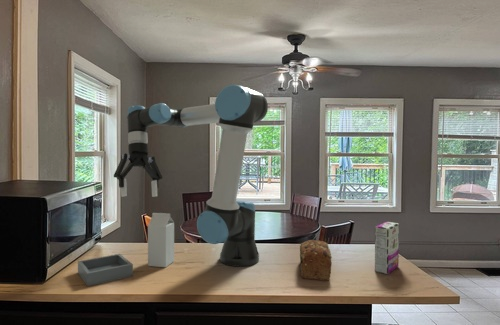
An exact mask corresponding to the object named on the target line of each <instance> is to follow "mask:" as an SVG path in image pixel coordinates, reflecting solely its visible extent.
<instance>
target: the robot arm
mask: <svg viewBox="0 0 500 325" xmlns="http://www.w3.org/2000/svg"><path fill="white" fill-rule="evenodd" d="M214 101H215V102H214V103H212V104H205V105H197V106H188V107H184V108H183V107H181V108H171V107H169V106H168V105H167V104H166V103H163V102H159V103H155V104H153V105H151V106H147V107H145V106H143V105H138V104H137V105H131V106H129V107H128V108H127V116H126V119H127V139H128V140H127V142H128V153H127V152H126V153H123V154H121V156H120V161H119V163H118V165H117V167H116V170H115V171H114V174H113V178H116V179H117V180H118V187H119V188H120V198H123V197H127V196H128V188H127V178H126V176H127V175H128V174H129V173H130V171H131V170H132V169H133V167H134V168H137V167H138V168H142V169H144V170H145V171H146V173H147V174H148V176H149V177H150V178H151V179H152V180H151V197H153V198H154V197H155V198H156V197H159V196H158V189H159V181H160V180H162V179H163V176H162V173H161V171H160V169H159V167H158V165H157V162H156V159H155V158H156V157H155V156H150V157H149V145H148V143H149V136H148V128H152V127H154V126H165V127H175V128H187V127H189V126H197V125H209V124H218V126H220V127H221V136H220V142H219V148H218V149H219V150H218V155H217V160H216V161H217V162H216V167H215V173H214V182H213V185H212V186H213V187H212V194H211V197H210V198H209V199H207V200H206V202H205V209H204V211H203V212H201V214H199V215H198V217H197V220H196V227H197V232H198V234H199V235H200V237H201V238H202V239H203V241H205V243H208V244H211V245H218V244H222V243H223V245H222V248H221V251H220V254H219V261H220V262H221V263H222V264H224V265H226V266H233V267H247V266H252V265H255V264H257V263H258V262H259V260H260V253H259V251H258V247H257V244H256V238H255V237H256V236H255V235H256V234H255V233H256V231H255V230H256V208H255V207H256V206H255V203H253V202H252V201H246V200H245V201H244V200H237V198H238V197H237V196H238V193H239V184H240V179H241V173H242V167H243V162H244V155H245V149H246V143H247V137H248V134H249V133H250V132H251V131H253V128H254V124H256V123H259V122H261V121H262V120H263V119H264V118H265V117H266V115H267V114H268V109H269V105H268V101H267V98H266V97H265V95H263V93H262V92H260V91H258V90H255V89H254V90H253V89H251V88H249V87H246V86H244V85H238V84H230V85H227V86H225V87H223V88H222V89H221V90H220V91H219V92H218V94H217V96H216V98H215V100H214ZM127 161H129V162H128V163H127ZM126 163H127V165H126ZM125 165H126V167H125Z"/></svg>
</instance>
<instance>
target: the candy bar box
mask: <svg viewBox="0 0 500 325" xmlns="http://www.w3.org/2000/svg"><path fill="white" fill-rule="evenodd" d="M374 228H375V229H374V272H376V273H380V274H385V275H389V274H391V273H392V272H393V271H395V270H396V268H398V267H399V256H400V255H399V252H400V251H399V250H400V249H399V248H400V247H399V246H400V245H399V244H400V243H399V242H400V239H399V238H400V229H399V228H400V223H398V222H393V221H385V222H383V223H382V222H381V224H378V225H376V226H374Z"/></svg>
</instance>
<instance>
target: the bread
mask: <svg viewBox="0 0 500 325" xmlns="http://www.w3.org/2000/svg"><path fill="white" fill-rule="evenodd" d="M332 258H333V257H332V252H331V249H330V248H329V244H328V242H325V241H322V240H315V239H307V240H306V241H304V242H301V243H300V245H299V261H300V274H301V275H300V276H301V278H302V279H306V280H316V281H325V282H326V281H329V280H330V278H331V274H332V266H333V264H332Z"/></svg>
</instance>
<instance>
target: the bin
mask: <svg viewBox="0 0 500 325" xmlns="http://www.w3.org/2000/svg"><path fill="white" fill-rule="evenodd" d="M133 265H134V264H133V263H132V262H130V260H128V259H127V258H126V257H125V256H124V255H122V254H121V253H117V254H111V255H105V256H100V257H94V258H93V257H92V258H88V259H83V260H78V261H77V274H78V275H79V276H80V278H81V279H82V281H83V282H84V284H85V285H86V286H87V287H91V286H95V285H99V284H103V283H109V282H113V281H117V280H122V279H125V278H130V277H133V276H134V271H133V269H134V266H133Z"/></svg>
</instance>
